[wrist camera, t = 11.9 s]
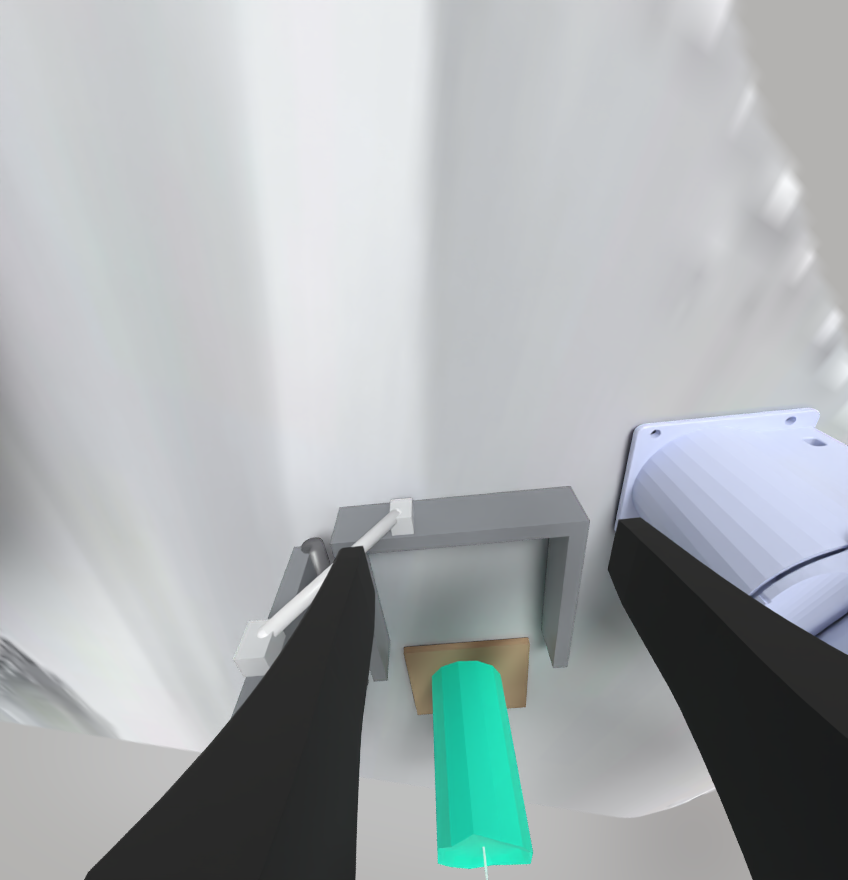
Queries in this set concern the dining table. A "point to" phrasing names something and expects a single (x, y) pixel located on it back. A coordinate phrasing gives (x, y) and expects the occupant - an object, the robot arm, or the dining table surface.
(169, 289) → the dining table surface
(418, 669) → the tan pad
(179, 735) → the dining table surface
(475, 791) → the candle
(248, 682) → the grey bracket
